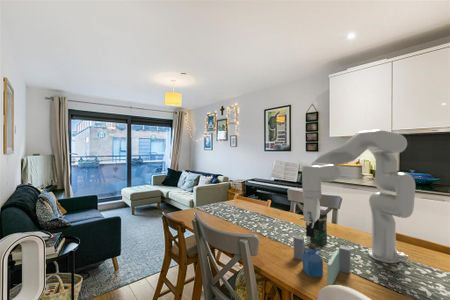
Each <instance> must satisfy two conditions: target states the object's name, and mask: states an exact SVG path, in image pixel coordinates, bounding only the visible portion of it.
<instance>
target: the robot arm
mask: <svg viewBox="0 0 450 300" xmlns="http://www.w3.org/2000/svg"><path fill="white" fill-rule="evenodd" d="M407 146H408V141H407V138H406V137H405V136H404V135H402V134H400V133H397V132H391V131H387V130H383V129H372V130H362V131H358V132H356V133H355V134H353V135H352V136H351V137H350V138H349V139H347V140H346V141H345V142H344V143H343V144H342V145H340V146H339V147H337V148H334V149H332V150H330V151H328V152H326V153H324V154H322V155H320V156H319V157H318V158H316V159H315V160H314V161H312V163H311V164H305V165H303V166H302V168H301V179H302V180H301V182H302V183H301V186H302V198H303V209H302V211H303V221H305V235H306V237H309V238H310V237H313V238H314V229H318V230H319V229H320V221H319V217H320V209H321V206H320V204H321V203H320V199H321V198H322V182H335V181H337V180H338V179H339V178H340V175H341V169H340V168H339V167H338V166H339V165H345V164H348V163H351V162H354V161H356V160H357V158H359V157H360V156H361V155H362V154H363V153H364V152H366V151H367V150H368V151H369V152H370V153H371V154H372V155H373V157H374V159H375V173H374V174H375V175H374V185H375V187H376V188H377V189H379V190H382V191H387V192H392V193H395V194H392V193H387V192H378V191H377V192H374V193H372V194H370V197H369V199H368V203H369V208H370V213H371V248H370V249H369V250H368V252H367V253H368V254H367V255H369V257H370V258H371V259H374V260H376V261H379V262H381V263H382V262H383V263H386V264H397V263H400V261H401V259H404V260H409V255H408V254H405V252H399V251H398V250H397V248H396V247H397V242H396V241H397V240H396V239H397V237H396V231H397V230H396V226H397V225H396V221H395V218H394V217H396V218H397V217H398V218H402V219H407V218H410V217H411V216H412V215H413V212H414V207H415V198H416V197H415V196H416V181H415V178H414V177H413V176H412V175H411V174H409V173H407V172H401V171H398V159H397V158H396V156H395V155H394V154H399V153H402V152H404V151H406V148H407ZM337 165H338V166H337ZM311 222H312V225H311Z"/></svg>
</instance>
